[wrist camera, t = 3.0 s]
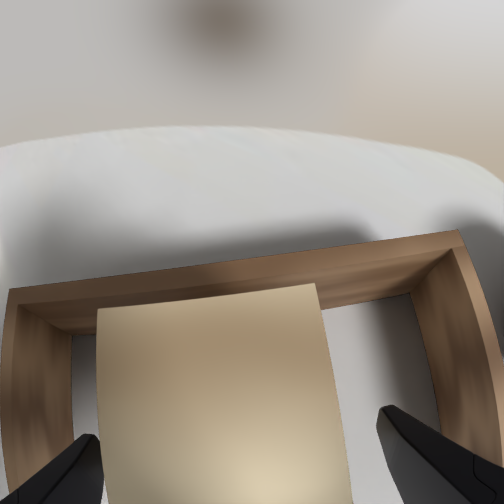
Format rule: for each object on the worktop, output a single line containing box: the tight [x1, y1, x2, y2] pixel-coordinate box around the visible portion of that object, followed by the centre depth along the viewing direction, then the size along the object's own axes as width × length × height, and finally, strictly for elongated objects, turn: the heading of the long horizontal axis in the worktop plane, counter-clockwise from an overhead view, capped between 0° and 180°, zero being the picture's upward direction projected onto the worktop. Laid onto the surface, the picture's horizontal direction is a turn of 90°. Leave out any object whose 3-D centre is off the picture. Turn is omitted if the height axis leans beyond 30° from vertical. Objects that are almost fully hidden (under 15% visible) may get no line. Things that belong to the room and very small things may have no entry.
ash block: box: [96, 283, 353, 504], centre depth 11 cm, size 5×5×12 cm
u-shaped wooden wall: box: [0, 230, 504, 494], centre depth 13 cm, size 13×25×6 cm, turn 97°
